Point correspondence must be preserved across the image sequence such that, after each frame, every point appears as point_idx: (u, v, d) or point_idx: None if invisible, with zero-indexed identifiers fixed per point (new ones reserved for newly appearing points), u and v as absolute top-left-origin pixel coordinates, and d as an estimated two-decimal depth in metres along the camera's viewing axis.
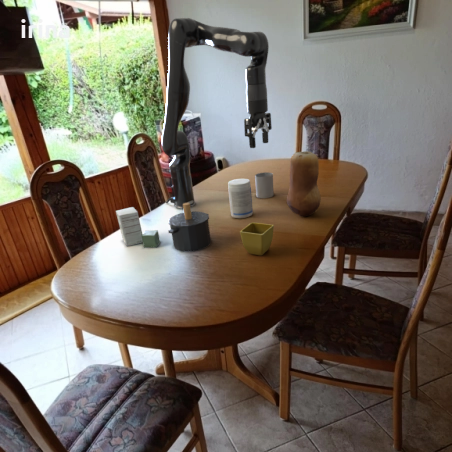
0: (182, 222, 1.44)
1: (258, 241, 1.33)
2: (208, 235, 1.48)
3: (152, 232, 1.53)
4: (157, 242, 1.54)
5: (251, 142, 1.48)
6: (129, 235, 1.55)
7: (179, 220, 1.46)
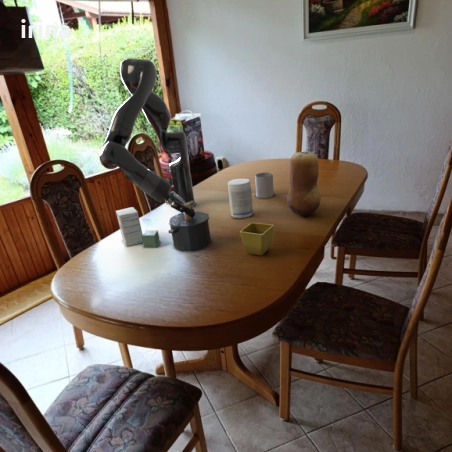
0: (182, 222, 1.44)
1: (258, 241, 1.33)
2: (208, 235, 1.48)
3: (152, 232, 1.53)
4: (157, 242, 1.54)
5: None
6: (129, 235, 1.55)
7: (179, 220, 1.46)
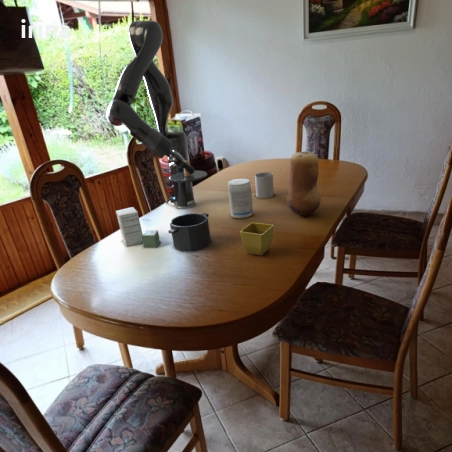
0: (182, 178, 1.56)
1: (258, 241, 1.33)
2: (208, 235, 1.48)
3: (152, 232, 1.53)
4: (157, 242, 1.54)
5: None
6: (129, 235, 1.55)
7: (179, 177, 1.58)
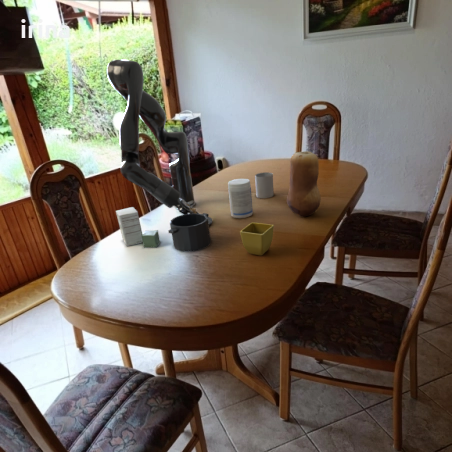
0: None
1: (258, 241, 1.33)
2: (208, 235, 1.48)
3: (152, 232, 1.53)
4: (157, 242, 1.54)
5: None
6: (129, 235, 1.55)
7: None
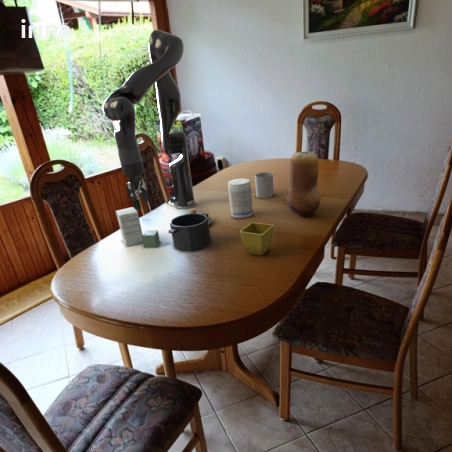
0: None
1: (258, 241, 1.33)
2: (208, 235, 1.48)
3: (152, 232, 1.53)
4: (157, 242, 1.54)
5: None
6: (129, 235, 1.55)
7: None
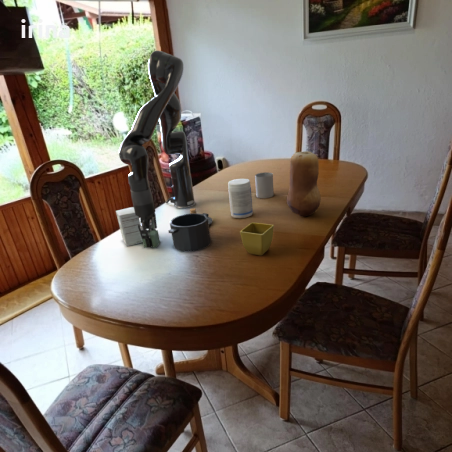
0: None
1: (258, 241, 1.33)
2: (208, 235, 1.48)
3: (152, 232, 1.53)
4: (157, 242, 1.54)
5: None
6: (129, 235, 1.55)
7: None
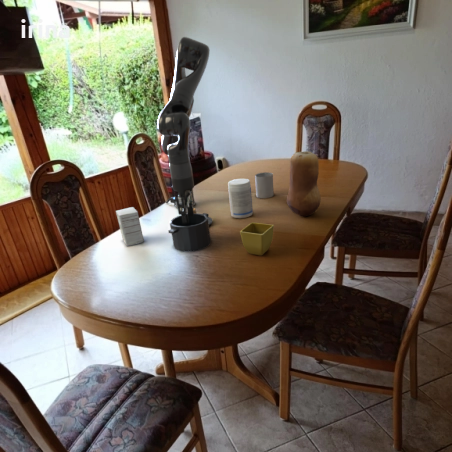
0: None
1: (258, 241, 1.33)
2: (208, 235, 1.48)
3: None
4: None
5: None
6: (129, 235, 1.55)
7: None
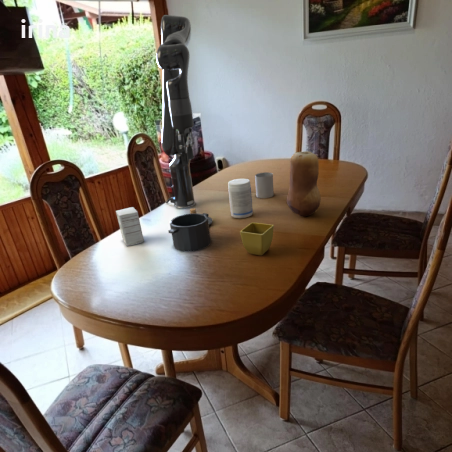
0: None
1: (258, 241, 1.33)
2: (208, 235, 1.48)
3: None
4: None
5: None
6: (129, 235, 1.55)
7: None
